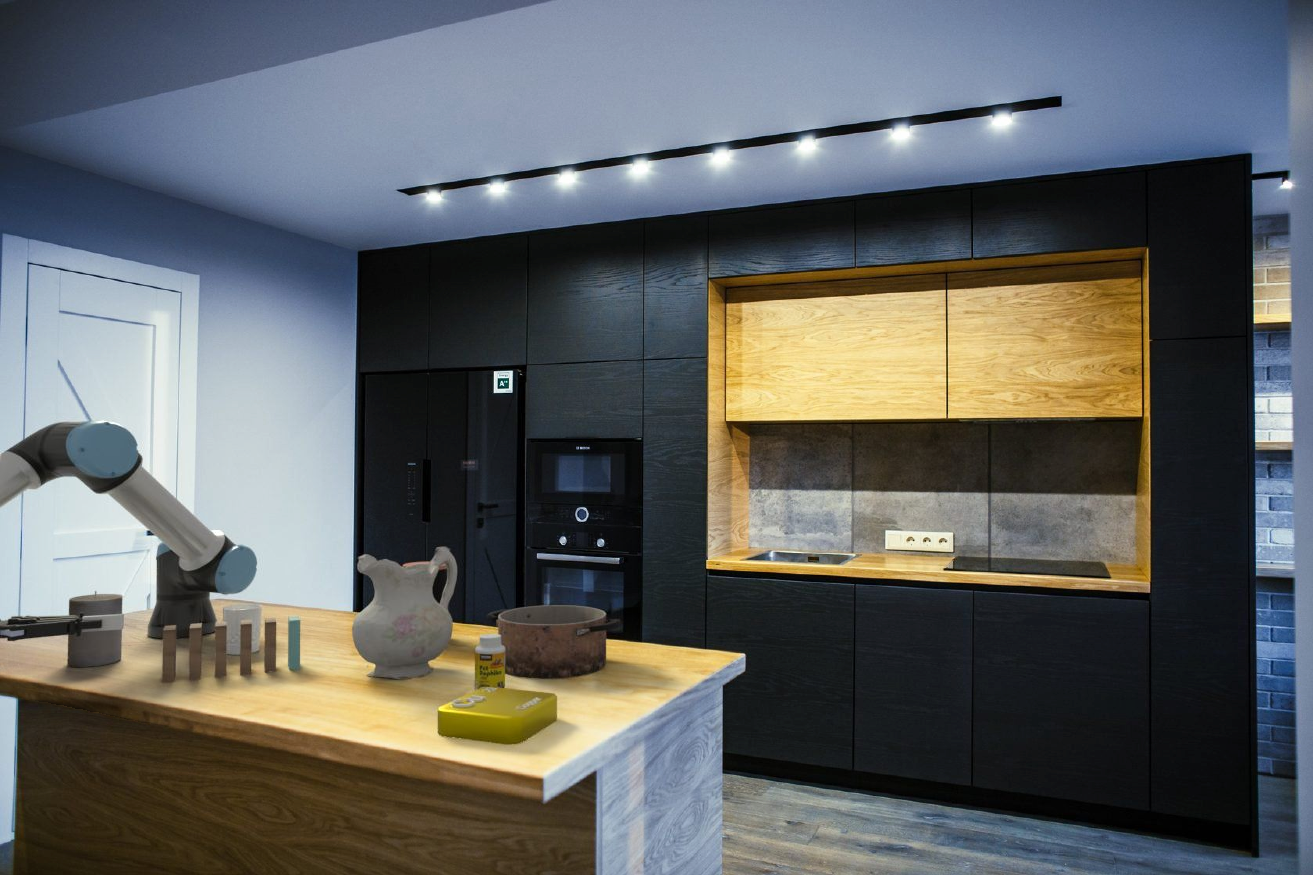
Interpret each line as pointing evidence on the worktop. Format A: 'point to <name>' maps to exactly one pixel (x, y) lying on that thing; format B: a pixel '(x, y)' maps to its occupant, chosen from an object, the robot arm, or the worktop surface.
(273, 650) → the domino
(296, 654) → the domino
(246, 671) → the domino
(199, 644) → the domino
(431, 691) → the worktop surface
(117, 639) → the pillar candle
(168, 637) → the domino
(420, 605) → the ceramic pitcher
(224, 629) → the domino
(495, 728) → the element tile
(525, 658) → the cooking pot
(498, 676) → the supplement bottle
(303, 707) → the worktop surface
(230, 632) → the white cup
